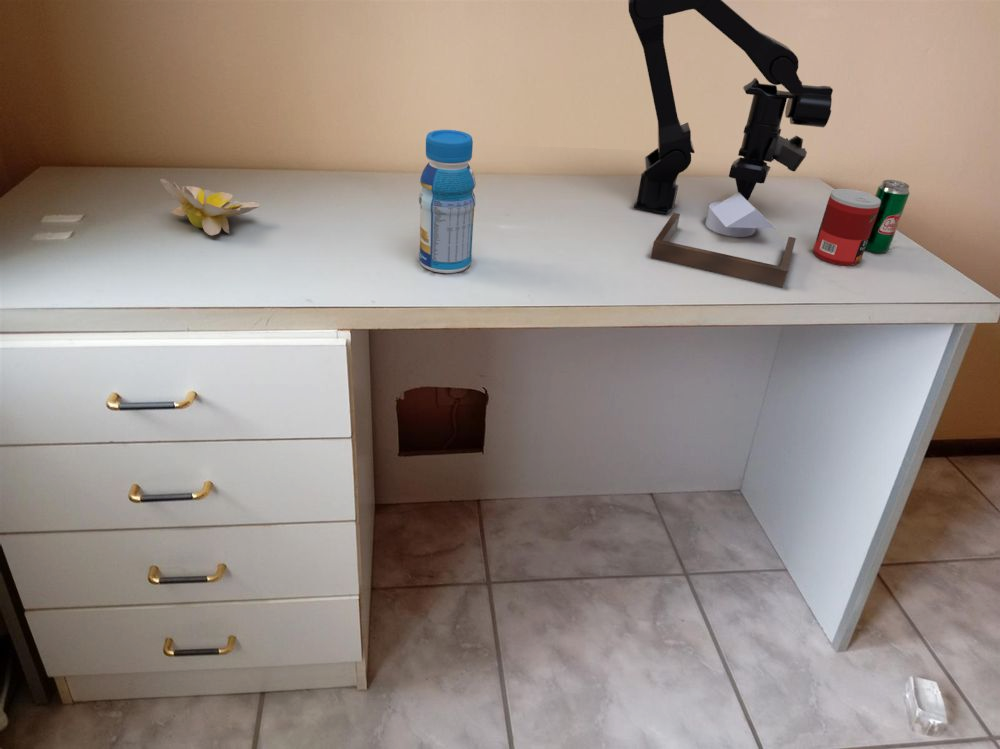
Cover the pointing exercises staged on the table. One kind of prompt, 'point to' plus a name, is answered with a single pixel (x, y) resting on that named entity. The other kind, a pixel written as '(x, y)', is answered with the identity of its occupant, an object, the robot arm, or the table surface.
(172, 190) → the decorative flower
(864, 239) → the canned food
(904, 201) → the soda can
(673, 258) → the bay
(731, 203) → the wedge on round base
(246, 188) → the table surface
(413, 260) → the table surface
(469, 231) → the beverage bottle
